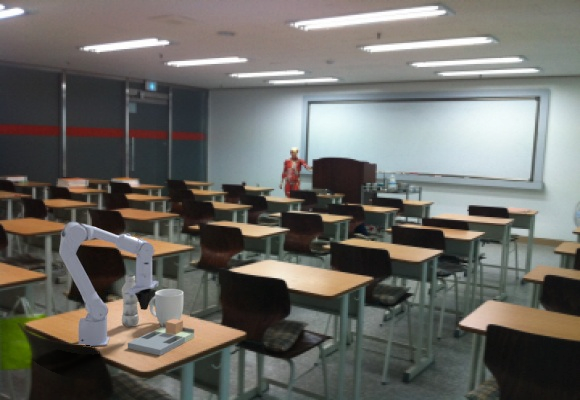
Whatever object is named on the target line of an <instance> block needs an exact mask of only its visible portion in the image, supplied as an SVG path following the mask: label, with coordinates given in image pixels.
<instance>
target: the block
mask: <svg viewBox="0 0 580 400" xmlns="http://www.w3.org/2000/svg"><path fill="white" fill-rule="evenodd" d="M183 327H184V320H182V319H180V320H178V319H171V320H169V321H167V322H166V333H170V334H175V335H176V334H178V333H180V332H182V331H183Z"/></svg>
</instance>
